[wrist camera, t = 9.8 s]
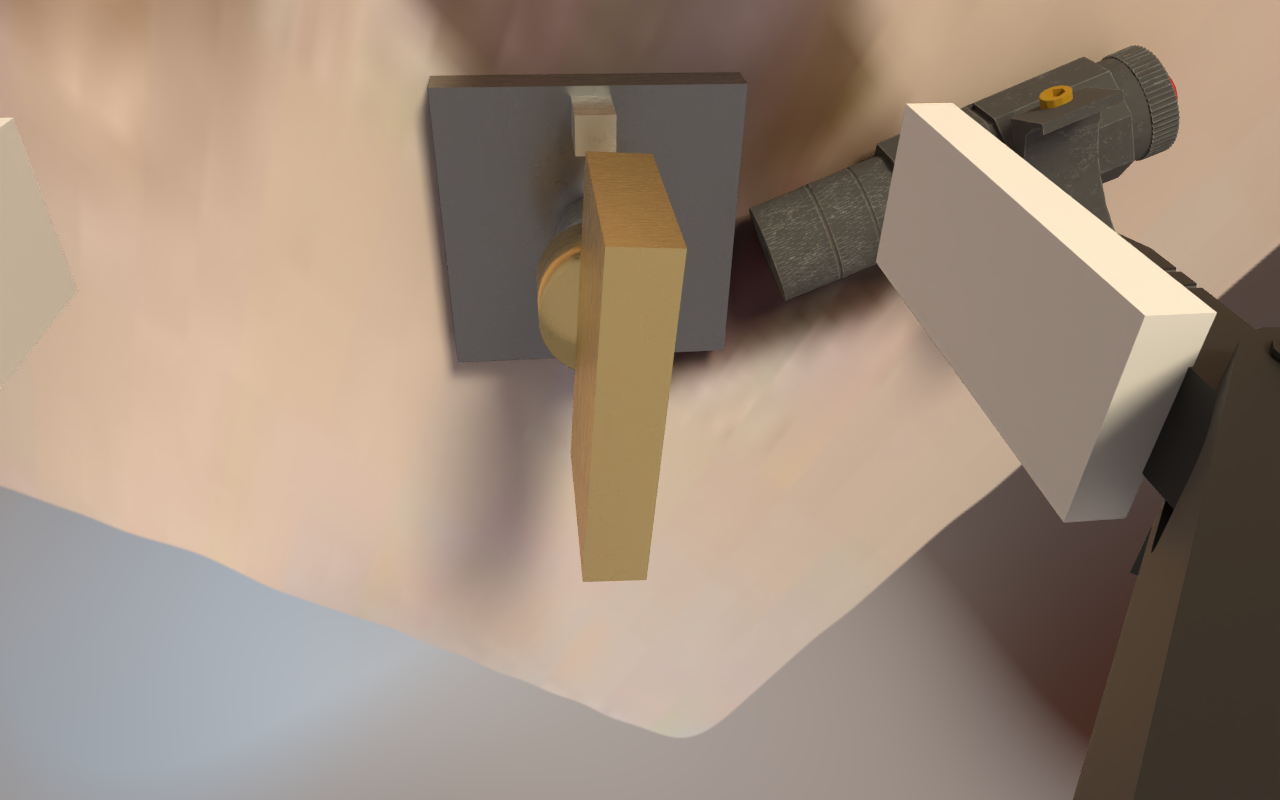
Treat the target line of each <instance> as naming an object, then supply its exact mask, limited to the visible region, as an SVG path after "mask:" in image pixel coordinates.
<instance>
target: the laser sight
mask: <svg viewBox="0 0 1280 800" xmlns="http://www.w3.org/2000/svg"><path fill="white" fill-rule="evenodd" d="M1177 99H1178V97H1177V92H1176V87H1175V85H1174V83H1173V81H1172V79H1171V78H1170V77H1169V76H1168V73H1167V72H1166V70H1165V67H1163V65H1162V63H1161V62H1160V61H1159V59H1158V58H1156V56H1155V55H1153V53H1152V52H1150V51H1149V50H1147V49H1146V48H1143V47H1142V46H1141V47H1140V46H1139V45H1138V46H1136V45H1135V46H1130V47H1128V48H1125V49H1123V50H1120V51H1118V52H1116V53H1113V54H1111V55H1108V56H1106V57H1105V58H1103V59H1102V60H1101V61H1100V62H1098V63H1095V62H1093V61H1091V60H1089V59H1087V58H1085V57H1082V58H1079V59H1077V60H1075V61H1072V62H1070V63H1068V64H1065V65H1063V66H1060V67H1058V68H1056V69H1053V70H1051V71H1049V72H1046V73H1044V74H1041V75H1039V76H1037V77H1034V78H1032V79H1030V80H1027V81H1025V82H1022V83H1020V84H1018V85H1015V86H1013V87H1011V88H1008V89H1006V90H1003V91H1001V92H999V93H996V94H994V95H992V96H989V97H987V98H984V99H982V100H980V101H977V102H975V103H973V104H970V105H968V106H965V107H963V108H961V110H962V111H963V112H965V113H966V114H967V115H968V116H970V117H971V118H972V119H973V120H975V121H976V122H977V123H978V124H980V125H981V126H982V127H983V128H985V129H986V130H987V131H988V132H990V133H991V134H992V135H994V136H995V137H996V138H997V139H999V140H1000V141H1001V142H1002V143H1004V144H1005V145H1006V146H1007V147H1009V148H1010V149H1011V150H1012V151H1014V152H1015V153H1016V154H1018V155H1019V156H1020V157H1021V158H1023V159H1024V160H1025V161H1026V162H1028V163H1029V164H1030V165H1031V166H1033V167H1034V168H1035V169H1036V170H1038V171H1039V172H1040V173H1041V174H1043V175H1044V176H1045V177H1047V178H1048V179H1049V180H1050V181H1052V182H1053V183H1054V184H1055V185H1057V186H1058V187H1059V188H1060V189H1062V190H1063V191H1064V192H1065V193H1067V194H1068V195H1069V196H1070V197H1072V198H1073V199H1074V200H1076V201H1077V202H1078V203H1079V204H1081V205H1082V206H1083V207H1084V208H1086V209H1087V210H1088V211H1089V212H1091V213H1092V214H1093V215H1094V216H1096V217H1097V218H1098V219H1099V220H1101V221H1102V222H1103V223H1105V224H1106V225H1107V226H1108V227H1110V228H1111V229H1112V230H1113V231H1115V230H1114V227H1113V224H1112V221H1111V218H1110V215H1109V212H1108V209H1107V206H1106V201H1105V196H1104V191H1103V185H1102V184H1103V183H1105V182H1108V181H1110V180H1113V179H1115V178H1118V177H1119V176H1120V175H1121V174H1122V173H1123V172H1124V171H1125V170H1126V169H1127V168H1128V167H1129V166H1130V165H1131V163H1132V162H1133V161H1135V160H1136V161H1138V160H1139V161H1140V160H1143V159H1145V158H1148V157H1150V156H1153V155H1155V154H1158V153H1160V152H1163V151H1165V150H1167V149H1169V148H1170V147H1171V146H1172V144H1174V141H1175V140H1176V137H1177V133H1178V129H1179V118H1180V117H1179V110H1178V108H1179V106H1178V104H1177V103H1178V100H1177ZM899 138H900V134H899V135H897V136H894V137H892V138H889V139H887V140H885V141H882V142H880V143H878V144H877V146H876V151H875V156H874V157H872V158H870V159H868V160H865V161H863V162H860V163H858V164H855V165H852V166H850V167H848V168H847V169H843V170H841V171H838V172H836V173H834V174H832V175H829V176H827V177H825V178H822V179H820V180H817V181H815V182H812V183H810V184H807V185H806V186H805V187H804V186H802V187H800V188H798V189H796V190H794V191H792V192H789V193H787V194H784V195H782V196H779V197H776V198H774V199H772V200H770V201H767V202H765V203H763V204H760V205H758V206H755V207H752V208H750V209H749V210H750V215H751V218H752V222H753V225H754V228H755V231H756V233H757V236H758V239H759V242H760V244H761V247H762V250H763V252H764V255H765V258H766V260H767V263H768V265H769V267H770V270H771V272H772V275H773V277H774V279H775V282H776V284H777V286H778V288H779V290H780V293H781V295H782V296H783V298H784V300H785V301H788V300H790V299H792V298H794V297H797V296H799V295H802V294H804V293H807V292H809V291H812V290H814V289H816V288H819V287H821V286H824V285H826V284H829V283H831V282H834V281H837V280H839V279H840V278H845V277H847V276H849V275H851V274H854V273H856V272H859V271H861V270H863V269H866V268H869V267H871V266H874V265H877V263H876V259H877V253H878V248H879V243H880V238H881V232H882V227H883V222H884V217H885V211H886V206H887V201H888V196H889V190H890V185H891V180H892V174H893V169H894V164H895V159H896V153H897V148H898V143H899Z"/></svg>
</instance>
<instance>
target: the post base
mask: <svg viewBox="0 0 1280 800" xmlns="http://www.w3.org/2000/svg"><path fill="white" fill-rule="evenodd" d="M747 85H748V84H747V82H746V81H745V79H744V78H743V77H742V75H741V74H740V73H652V74H566V75H480V76H430V79H429V84H428V96H429V105H430V115H431V124H432V133H433V142H434V151H435V160H436V169H437V178H438V187H439V196H440V205H441V214H442V223H443V233H444V242H445V251H446V260H447V269H448V278H449V287H450V296H451V305H452V314H453V323H454V332H455V341H456V351H457V360H458V362H474V361H496V360H518V359H540V358H556V357H555V356H554V355H553V354H552V353H551V352H550V351H549V349H548V348H547V346H546V345H545V343H544V341H543V338H542V336H541V333H540V328H539V317H538V301H537V284H536V274H537V267H538V263H539V260H540V258H541V255H542V254H543V252H544V250H545V248H546V247H547V246H548V245H549V243H550V242H551V241H552V240H553V239H554V238H555V237H556V236H557V235H559V234H560V233H561V232H562V231H564V230H566V229H567V228H569V227H571V226H574V225H576V224H578V223H582V218H583V198H584V178H585V159H586V151H592V152H618V153H645V154H653V157H654V160H655V162H656V165H657V168H658V171H659V173H660V176H661V179H662V182H663V184H664V187H665V190H666V192H667V195H668V198H669V201H670V203H671V206H672V209H673V212H674V214H675V217H676V220H677V223H678V225H679V228H680V231H681V234H682V236H683V239H684V242H685V245H686V247H687V253H686V261H685V269H684V277H683V285H682V293H681V302H680V310H679V318H678V326H677V334H676V342H675V350H674V352H692V351H714V350H724V343H725V332H726V321H727V309H728V298H729V287H730V276H731V265H732V253H733V242H734V231H735V220H736V209H737V197H738V186H739V175H740V164H741V153H742V141H743V130H744V119H745V108H746V97H747Z"/></svg>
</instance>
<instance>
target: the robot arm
mask: <svg viewBox="0 0 1280 800" xmlns="http://www.w3.org/2000/svg"><path fill="white" fill-rule="evenodd" d="M876 263H877V264H878V266H879V267H880V269H881V270H882V271H883V273H884V274H885V275H886V277H887V278H888V280H889V281H890V282H891V284H892V285H893V287H894V288H895V289H896V291H897V292H898V293H899V295H900V296H901V298H902V299H903V300H904V302H905V303H906V305H907V306H908V307H909V309H910V310H911V311H912V313H913V314H914V316H915V317H916V318H917V320H918V321H919V323H920V324H921V325H922V327H923V328H924V329H925V331H926V332H927V334H928V335H929V336H930V338H931V339H932V341H933V342H934V343H935V345H936V346H937V347H938V349H939V350H940V352H941V353H942V354H943V356H944V357H945V359H946V360H947V361H948V363H949V364H950V365H951V367H952V368H953V370H954V371H955V372H956V374H957V375H958V377H959V378H960V379H961V381H962V382H963V383H964V385H965V386H966V388H967V389H968V390H969V392H970V393H971V395H972V396H973V397H974V399H975V400H976V401H977V403H978V404H979V406H980V407H981V408H982V410H983V411H984V413H985V414H986V415H987V417H988V418H989V419H990V421H991V422H992V424H993V425H994V426H995V428H996V429H997V431H998V432H999V433H1000V435H1001V436H1002V437H1003V439H1004V440H1005V442H1006V443H1007V444H1008V446H1009V447H1010V449H1011V450H1012V451H1013V453H1014V454H1015V455H1016V457H1017V458H1018V460H1019V461H1020V462H1021V464H1022V465H1023V467H1024V468H1025V469H1026V471H1027V472H1028V473H1029V475H1030V476H1031V478H1032V479H1033V480H1034V481H1035V483H1036V485H1037V486H1038V487H1039V489H1040V490H1041V491H1042V492H1043V494H1044V495H1045V497H1046V498H1047V500H1048V501H1049V502H1050V504H1051V505H1052V506H1053V508H1054V509H1055V511H1056V512H1057V514H1058V515H1059V516H1060V518H1061V519H1062V520H1063V522H1077V521H1092V520H1106V519H1120V518H1126V516H1127V514H1128V511H1129V509H1130V507H1131V505H1132V503H1133V500H1134V498H1135V496H1136V494H1137V491H1138V489H1139V487H1140V484H1141V482H1142V480H1143V478H1144V476H1145V477H1146V478H1147V480H1148V481H1149V482H1150V483H1151V484H1152V485H1153V486H1154V487H1155V489H1156V490H1157V491H1158V492H1159V493H1160V494H1161V495H1162V497H1163V498H1164V499H1165V500H1164V502H1163V504H1162V506H1161V508H1160V510H1159V512H1158V514H1157V517H1156V519H1155V521H1154V523H1153V525H1152V527H1151V529H1150V531H1149V534H1148V536H1147V538H1146V540H1145V542H1144V544H1143V546H1142V549H1141V551H1140V553H1139V555H1138V557H1137V559H1136V561H1135V564H1134V565H1133V568H1132V570H1131V573H1133V574H1135V575H1138V577H1137V581H1136V584H1135V587H1134V591H1133V594H1132V598H1131V602H1130V605H1129V608H1128V612H1127V615H1126V619H1125V622H1124V625H1123V629H1122V632H1121V636H1120V639H1119V643H1118V646H1117V650H1116V653H1115V656H1114V660H1113V664H1112V667H1111V671H1110V674H1109V677H1108V681H1107V684H1106V688H1105V692H1104V694H1103V698H1102V702H1101V705H1100V709H1099V712H1098V715H1097V719H1096V722H1095V726H1094V729H1093V732H1092V736H1091V740H1090V743H1089V746H1088V750H1087V753H1086V757H1085V760H1084V764H1083V767H1082V770H1081V774H1080V777H1079V781H1078V785H1077V788H1076V791H1075V795H1074V798H1073V800H1280V328H1279V327H1278V328H1277V327H1274V328H1273V327H1263V328H1259V329H1255V328H1253V327H1252V326H1251V325H1249V324H1248V323H1247V322H1245V321H1244V320H1243V319H1242V318H1240V317H1239V316H1238V315H1236V314H1235V313H1234V312H1233V311H1231V310H1230V309H1229V308H1227V307H1226V306H1225V305H1224V304H1222V303H1221V302H1220V301H1218V300H1217V299H1216V298H1214V297H1213V296H1212V295H1211V294H1209V293H1208V292H1207V291H1205V290H1204V289H1203V288H1196V283H1195V282H1194V281H1193V280H1191V279H1190V278H1189V277H1187V276H1186V275H1185V274H1183V273H1182V272H1176V267H1174V266H1173V265H1172V264H1171V263H1169V262H1168V261H1167V260H1165V259H1164V258H1163V257H1162V256H1160V255H1159V254H1158V253H1156V252H1155V251H1154V250H1152V249H1151V248H1149V247H1147V246H1145V245H1143V244H1140V243H1138V242H1136V241H1134V240H1132V239H1129V238H1127V237H1125V236H1123V235H1121V234H1118V233H1116V232H1115V231H1113V230H1112V229H1111V228H1110V227H1108V226H1107V225H1106V224H1105V223H1103V222H1102V221H1101V220H1099V219H1098V218H1097V217H1096V216H1094V215H1093V214H1092V213H1091V212H1089V211H1088V210H1087V209H1086V208H1084V207H1083V206H1082V205H1081V204H1079V203H1078V202H1077V201H1076V200H1074V199H1073V198H1072V197H1070V196H1069V195H1068V194H1067V193H1065V192H1064V191H1063V190H1062V189H1060V188H1059V187H1058V186H1057V185H1055V184H1054V183H1053V182H1052V181H1050V180H1049V179H1048V178H1047V177H1045V176H1044V175H1043V174H1041V173H1040V172H1039V171H1038V170H1036V169H1035V168H1034V167H1033V166H1031V165H1030V164H1029V163H1028V162H1026V161H1025V160H1024V159H1023V158H1021V157H1020V156H1019V155H1018V154H1016V153H1015V152H1014V151H1012V150H1011V149H1010V148H1009V147H1007V146H1006V145H1005V144H1004V143H1002V142H1001V141H1000V140H999V139H997V138H996V137H995V136H994V135H992V134H991V133H990V132H988V131H987V130H986V129H985V128H983V127H982V126H981V125H980V124H978V123H977V122H976V121H975V120H973V119H972V118H971V117H970V116H968V115H967V114H966V113H965V112H963V111H962V110H961V109H959V108H958V107H957V106H956V105H954V104H953V103H919V104H906V106H905V111H904V117H903V122H902V127H901V132H900V138H899V143H898V148H897V153H896V159H895V164H894V169H893V174H892V180H891V185H890V190H889V196H888V201H887V206H886V211H885V217H884V222H883V227H882V232H881V238H880V243H879V248H878V253H877V259H876ZM77 292H78V289H77V286H76V283H75V281H74V278H73V275H72V273H71V270H70V267H69V265H68V262H67V259H66V257H65V254H64V251H63V249H62V246H61V243H60V241H59V238H58V235H57V233H56V230H55V227H54V225H53V222H52V219H51V217H50V214H49V211H48V209H47V206H46V203H45V201H44V198H43V195H42V193H41V190H40V187H39V185H38V182H37V179H36V177H35V174H34V171H33V169H32V166H31V164H30V161H29V158H28V156H27V153H26V150H25V148H24V145H23V142H22V140H21V137H20V134H19V132H18V129H17V126H16V124H15V121H14V118H0V390H1V388H2V387H3V386H4V385H5V383H6V382H7V381H8V380H9V378H10V377H11V376H12V374H13V373H14V372H15V371H16V369H17V368H18V367H19V365H20V364H21V363H22V362H23V360H24V359H25V358H26V357H27V355H28V354H29V353H30V351H31V350H32V349H33V348H34V346H35V345H36V344H37V343H38V341H39V340H40V339H41V337H42V336H43V335H44V334H45V332H46V331H47V330H48V328H49V327H50V326H51V325H52V323H53V322H54V321H55V320H56V318H57V317H58V316H59V314H60V313H61V312H62V311H63V309H64V308H65V307H66V306H67V304H68V303H69V302H70V300H71V299H72V298H73V297H74V295H75V294H76V293H77Z"/></svg>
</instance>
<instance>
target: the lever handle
mask: <svg viewBox="0 0 1280 800" xmlns="http://www.w3.org/2000/svg"><path fill="white" fill-rule="evenodd" d="M686 253H687V247H686V245H685V242H684V239H683V236H682V234H681V231H680V228H679V225H678V223H677V220H676V217H675V214H674V212H673V209H672V206H671V203H670V201H669V198H668V195H667V192H666V190H665V187H664V184H663V182H662V179H661V176H660V173H659V171H658V168H657V165H656V162H655V160H654V157H653V154H645V153H618V152H592V151H586V159H585V178H584V198H583V218H582V223H578V224H576V225H574V226H571V227H569V228H567V229H566V230H564V231H562V232H561V233H560V234H559V235H557V236H556V237H555V238H554V239H553V240H552V241H551V242H550V243H549V245H548V246H547V247H546V248H545V250H544V252H543V254H542V255H541V258H540V260H539V263H538V267H537V274H536V284H537V301H538V317H539V328H540V333H541V336H542V338H543V341H544V343H545V345H546V346H547V348H548V349H549V351H550V352H551V353H552V354H553V355H554V356H555V357H556V358H557V359H558V360H559V361H560V362H562V363H563V364H564V365H566V366H568V367H570V368H572V369H574V370H575V377H574V397H573V417H572V437H571V462H572V472H573V483H574V493H575V504H576V515H577V525H578V536H579V546H580V557H581V568H582V578H583V582H593V581H625V580H646V578H647V570H648V562H649V554H650V546H651V538H652V530H653V521H654V513H655V505H656V497H657V489H658V481H659V473H660V464H661V456H662V448H663V440H664V432H665V424H666V416H667V407H668V399H669V391H670V383H671V375H672V367H673V359H674V350H675V342H676V334H677V326H678V318H679V310H680V302H681V293H682V285H683V277H684V269H685V261H686Z"/></svg>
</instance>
